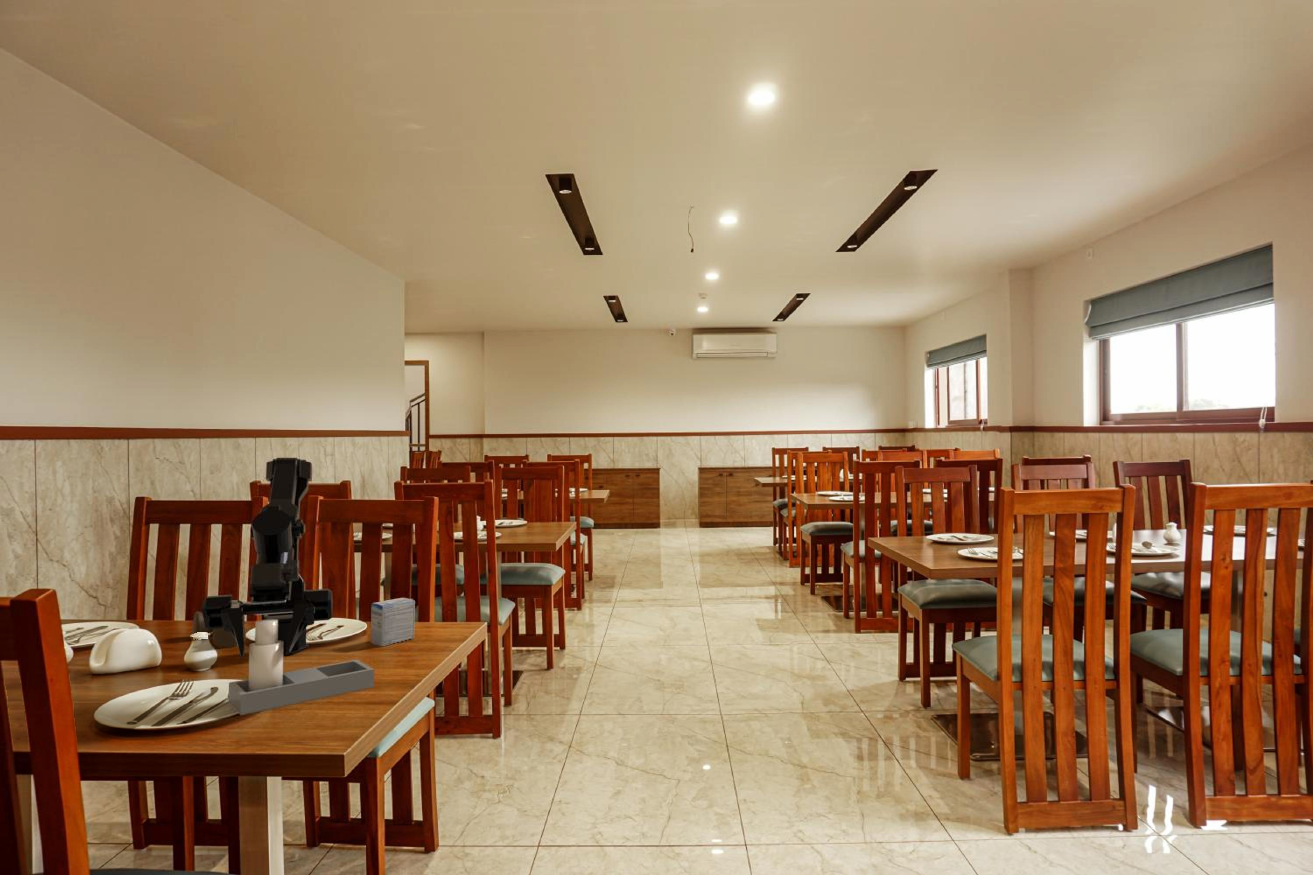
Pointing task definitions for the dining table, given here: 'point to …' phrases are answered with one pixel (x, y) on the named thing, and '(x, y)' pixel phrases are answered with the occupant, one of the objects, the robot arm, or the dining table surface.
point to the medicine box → (392, 621)
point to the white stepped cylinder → (265, 657)
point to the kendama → (214, 632)
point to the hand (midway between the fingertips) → (265, 653)
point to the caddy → (303, 686)
